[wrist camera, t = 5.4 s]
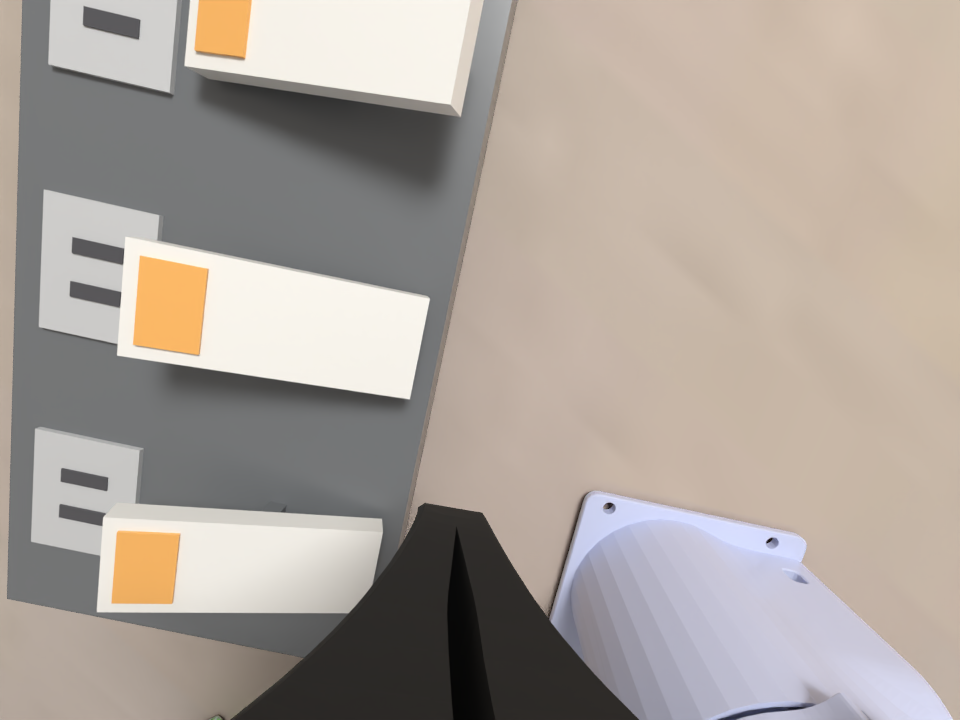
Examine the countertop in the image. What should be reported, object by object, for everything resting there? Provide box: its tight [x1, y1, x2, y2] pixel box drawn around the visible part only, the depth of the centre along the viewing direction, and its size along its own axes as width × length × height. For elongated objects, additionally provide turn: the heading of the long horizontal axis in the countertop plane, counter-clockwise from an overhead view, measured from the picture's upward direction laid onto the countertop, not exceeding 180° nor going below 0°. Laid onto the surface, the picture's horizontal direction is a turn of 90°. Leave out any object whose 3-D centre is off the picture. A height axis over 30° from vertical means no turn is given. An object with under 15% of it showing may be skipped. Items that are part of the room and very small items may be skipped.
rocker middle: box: [117, 237, 430, 399], centre depth 14 cm, size 8×3×1 cm, turn 78°
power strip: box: [7, 0, 518, 658], centre depth 16 cm, size 14×26×4 cm, turn 167°
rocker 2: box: [97, 503, 383, 613], centre depth 15 cm, size 8×3×1 cm, turn 77°
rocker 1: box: [184, 0, 484, 117], centre depth 12 cm, size 8×3×1 cm, turn 77°
